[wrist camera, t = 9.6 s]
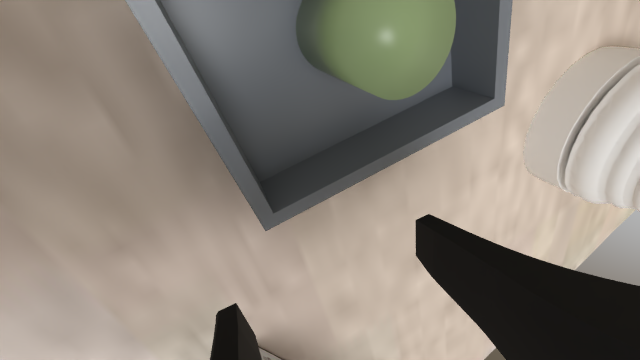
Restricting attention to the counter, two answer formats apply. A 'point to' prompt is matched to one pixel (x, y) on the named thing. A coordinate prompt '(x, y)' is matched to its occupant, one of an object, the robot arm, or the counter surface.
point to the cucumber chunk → (378, 42)
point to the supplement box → (267, 355)
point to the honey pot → (591, 129)
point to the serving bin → (313, 96)
